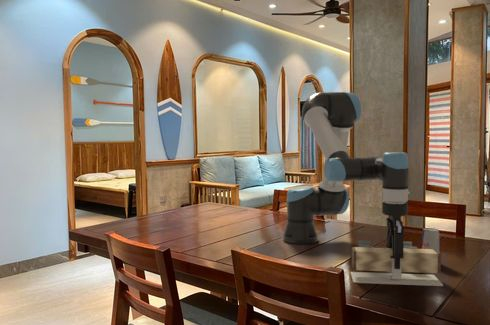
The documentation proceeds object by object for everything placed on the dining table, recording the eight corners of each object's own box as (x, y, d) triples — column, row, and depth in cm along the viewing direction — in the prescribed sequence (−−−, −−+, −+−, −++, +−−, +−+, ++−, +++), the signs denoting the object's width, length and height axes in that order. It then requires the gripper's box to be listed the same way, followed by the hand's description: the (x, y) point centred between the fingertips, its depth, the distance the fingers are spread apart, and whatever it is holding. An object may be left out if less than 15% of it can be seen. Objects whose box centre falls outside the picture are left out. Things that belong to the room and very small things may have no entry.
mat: (353, 282, 125) (353, 281, 125) (350, 273, 133) (350, 271, 133) (443, 286, 121) (443, 284, 121) (433, 276, 130) (433, 274, 129)
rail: (353, 270, 126) (353, 251, 126) (351, 265, 131) (351, 247, 131) (440, 273, 122) (440, 253, 122) (435, 267, 127) (435, 249, 127)
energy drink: (419, 261, 145) (419, 228, 145) (433, 260, 146) (434, 227, 145) (427, 265, 140) (427, 231, 139) (442, 265, 140) (442, 230, 140)
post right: (404, 270, 135) (404, 247, 134) (399, 263, 142) (399, 241, 142) (417, 271, 134) (417, 247, 134) (411, 264, 142) (411, 241, 141)
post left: (361, 269, 137) (361, 246, 137) (358, 262, 144) (358, 240, 144) (373, 269, 136) (373, 246, 136) (370, 263, 144) (370, 240, 143)
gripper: (415, 207, 116) (414, 286, 118) (400, 197, 134) (400, 266, 135) (388, 206, 117) (387, 285, 119) (377, 197, 135) (377, 265, 136)
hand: (394, 275), depth 127 cm, fingers closed on rail, 5 cm apart
